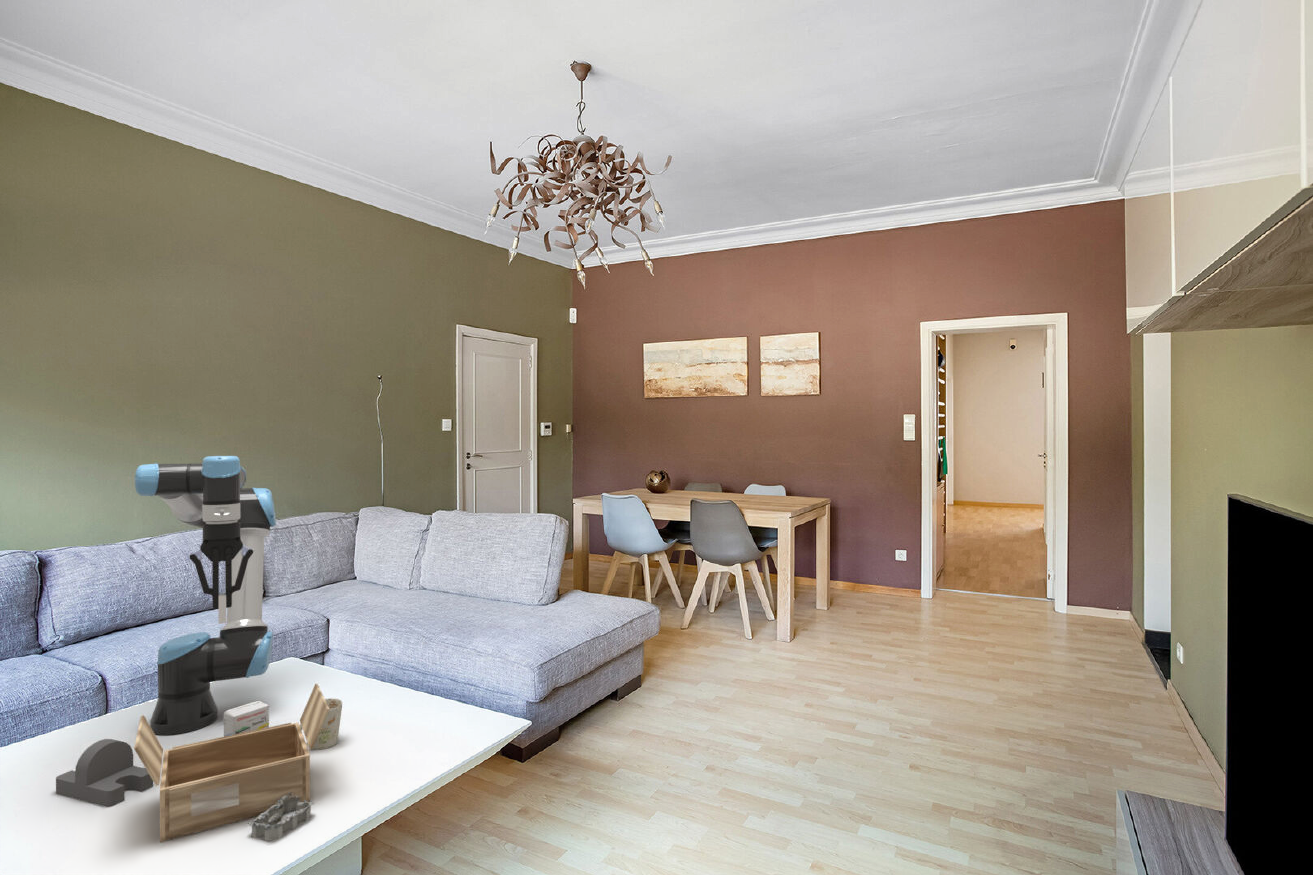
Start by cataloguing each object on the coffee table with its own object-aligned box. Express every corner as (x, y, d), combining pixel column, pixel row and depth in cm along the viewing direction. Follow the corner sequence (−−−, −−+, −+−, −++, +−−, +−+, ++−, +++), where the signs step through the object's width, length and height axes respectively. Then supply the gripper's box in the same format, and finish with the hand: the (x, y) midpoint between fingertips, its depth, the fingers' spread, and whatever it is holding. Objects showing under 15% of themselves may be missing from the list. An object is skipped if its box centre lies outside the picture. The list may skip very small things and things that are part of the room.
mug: (349, 739, 176) (349, 700, 176) (310, 761, 165) (310, 720, 164) (324, 734, 179) (324, 696, 179) (284, 756, 167) (283, 715, 167)
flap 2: (315, 683, 164) (317, 683, 165) (299, 720, 162) (301, 720, 163) (327, 708, 149) (329, 708, 150) (309, 749, 147) (312, 749, 148)
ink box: (233, 765, 163) (233, 715, 163) (223, 759, 166) (222, 711, 165) (270, 751, 170) (269, 703, 170) (259, 746, 173) (259, 699, 173)
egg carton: (292, 808, 144) (292, 789, 144) (318, 816, 142) (318, 796, 142) (244, 836, 135) (244, 815, 135) (271, 844, 132) (271, 823, 132)
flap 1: (163, 748, 148) (160, 750, 148) (143, 714, 146) (140, 716, 146) (159, 784, 133) (156, 786, 133) (137, 747, 131) (134, 748, 131)
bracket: (109, 808, 145) (109, 757, 144) (53, 794, 150) (52, 745, 150) (155, 786, 154) (155, 738, 154) (101, 773, 159) (100, 727, 159)
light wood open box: (164, 794, 150) (164, 749, 149) (298, 762, 164) (298, 720, 164) (159, 844, 131) (159, 792, 131) (310, 803, 146) (310, 756, 146)
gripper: (187, 525, 154) (188, 630, 155) (254, 521, 162) (255, 621, 162) (188, 522, 161) (189, 622, 161) (252, 518, 168) (253, 614, 168)
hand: (222, 621), depth 161 cm, fingers closed
